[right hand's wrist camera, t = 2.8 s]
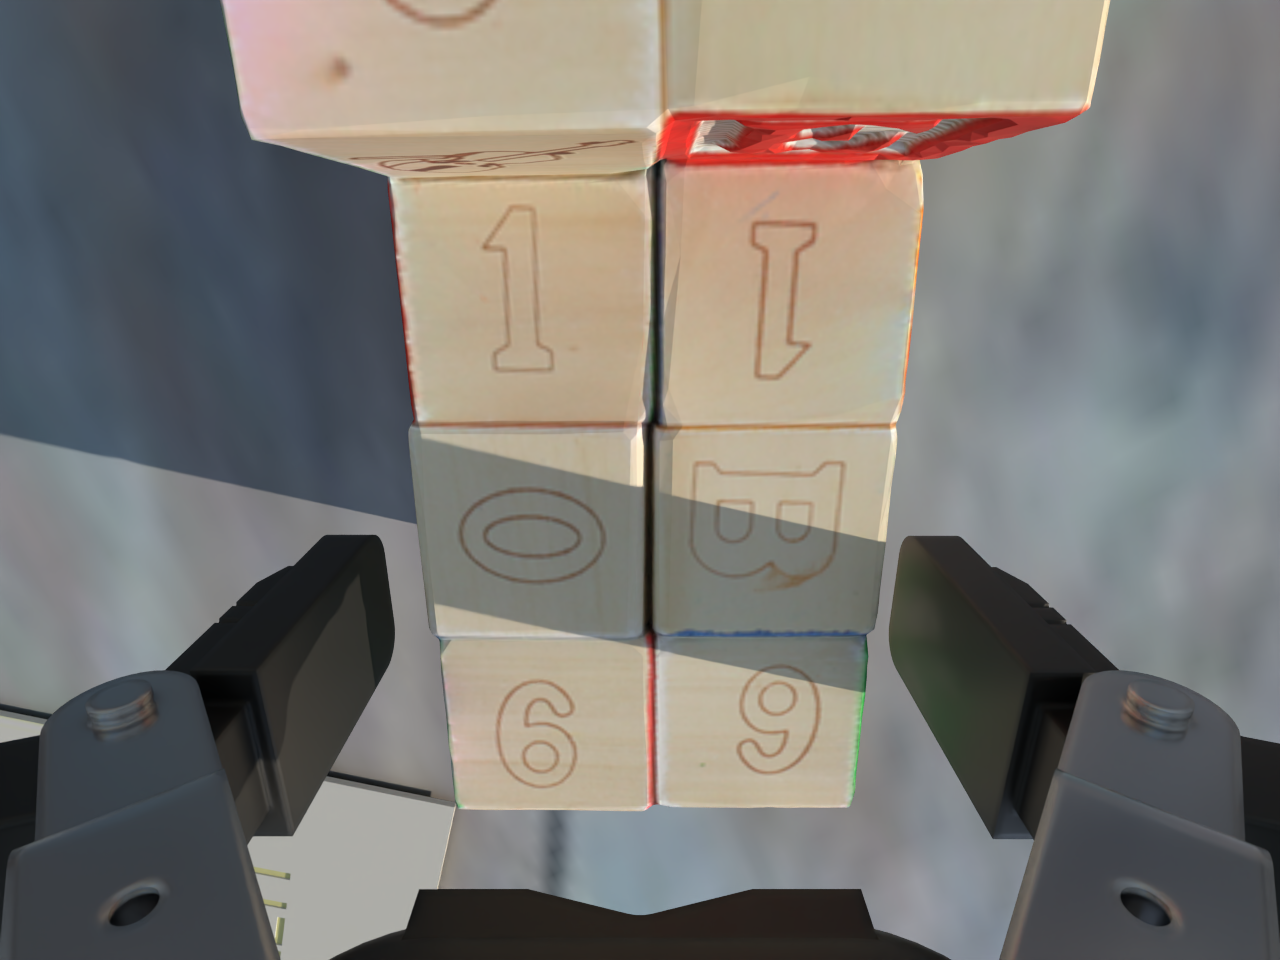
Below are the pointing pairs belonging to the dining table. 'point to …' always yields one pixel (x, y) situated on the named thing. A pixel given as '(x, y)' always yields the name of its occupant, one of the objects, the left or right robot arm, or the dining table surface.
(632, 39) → the stack of blocks
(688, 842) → the dining table surface
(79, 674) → the dining table surface
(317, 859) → the invitation card
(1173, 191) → the dining table surface
